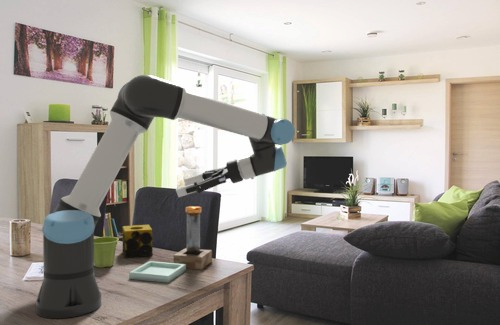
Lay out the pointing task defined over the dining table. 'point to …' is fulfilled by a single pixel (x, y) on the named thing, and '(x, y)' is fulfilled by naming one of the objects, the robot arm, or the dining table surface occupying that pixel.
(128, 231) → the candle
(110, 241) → the plant pot
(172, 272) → the tray
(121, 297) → the dining table surface
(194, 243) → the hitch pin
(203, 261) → the socket collar
